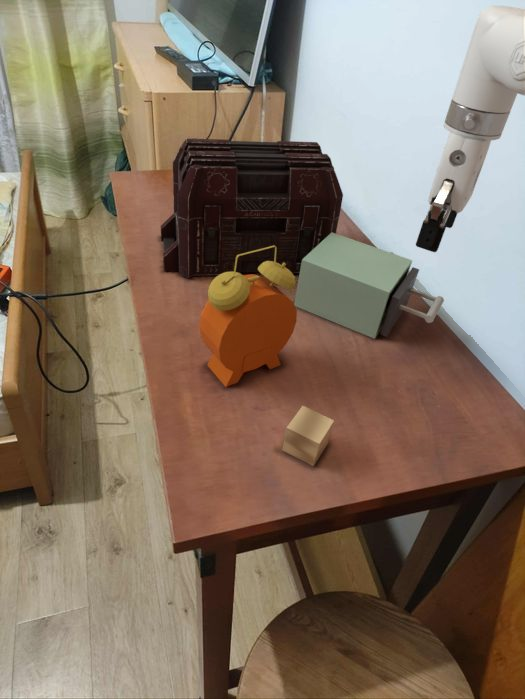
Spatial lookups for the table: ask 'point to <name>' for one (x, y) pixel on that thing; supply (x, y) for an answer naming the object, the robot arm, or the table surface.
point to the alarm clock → (247, 319)
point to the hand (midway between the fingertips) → (434, 236)
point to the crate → (248, 205)
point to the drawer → (400, 300)
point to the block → (307, 435)
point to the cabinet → (349, 283)
